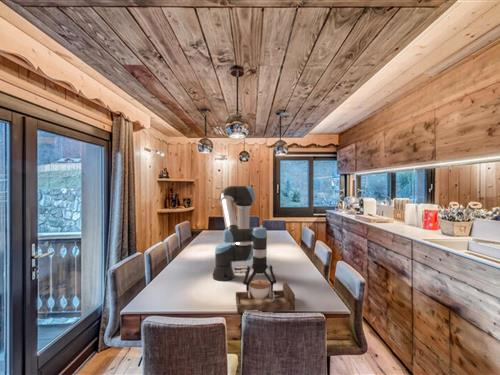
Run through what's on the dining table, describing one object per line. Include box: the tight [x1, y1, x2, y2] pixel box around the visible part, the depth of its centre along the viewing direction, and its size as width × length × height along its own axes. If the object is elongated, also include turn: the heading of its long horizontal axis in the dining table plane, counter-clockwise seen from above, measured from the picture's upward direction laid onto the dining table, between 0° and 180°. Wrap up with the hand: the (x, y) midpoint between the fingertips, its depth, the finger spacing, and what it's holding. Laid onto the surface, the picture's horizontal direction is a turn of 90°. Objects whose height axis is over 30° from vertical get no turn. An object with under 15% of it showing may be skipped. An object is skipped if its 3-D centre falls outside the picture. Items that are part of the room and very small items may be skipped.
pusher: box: [268, 289, 280, 303], centre depth 142 cm, size 5×13×7 cm, turn 6°
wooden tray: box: [235, 282, 296, 314], centre depth 142 cm, size 30×16×8 cm, turn 96°
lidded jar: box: [250, 279, 270, 300], centre depth 141 cm, size 11×11×9 cm
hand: (259, 296), depth 141 cm, fingers closed on lidded jar, 11 cm apart
